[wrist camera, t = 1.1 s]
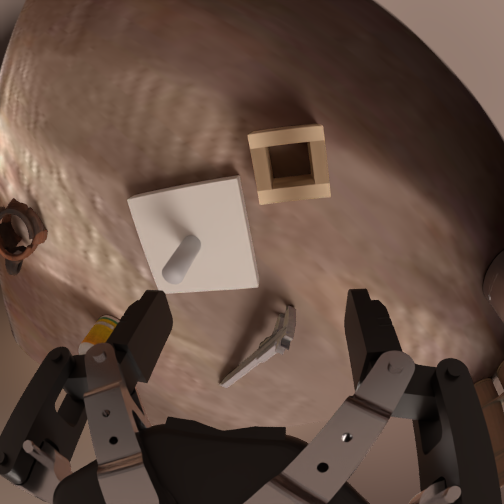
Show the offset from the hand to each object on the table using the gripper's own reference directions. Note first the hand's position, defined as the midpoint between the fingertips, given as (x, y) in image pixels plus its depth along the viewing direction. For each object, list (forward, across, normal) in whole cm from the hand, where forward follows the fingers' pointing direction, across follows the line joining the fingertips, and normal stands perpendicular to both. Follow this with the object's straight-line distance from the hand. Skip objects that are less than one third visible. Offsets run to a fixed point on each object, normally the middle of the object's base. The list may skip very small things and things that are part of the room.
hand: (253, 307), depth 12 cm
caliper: (+18, +4, +22) cm, 29 cm away
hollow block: (+18, -2, -3) cm, 18 cm away
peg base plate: (+18, +9, +5) cm, 20 cm away
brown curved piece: (+18, +36, +2) cm, 41 cm away
